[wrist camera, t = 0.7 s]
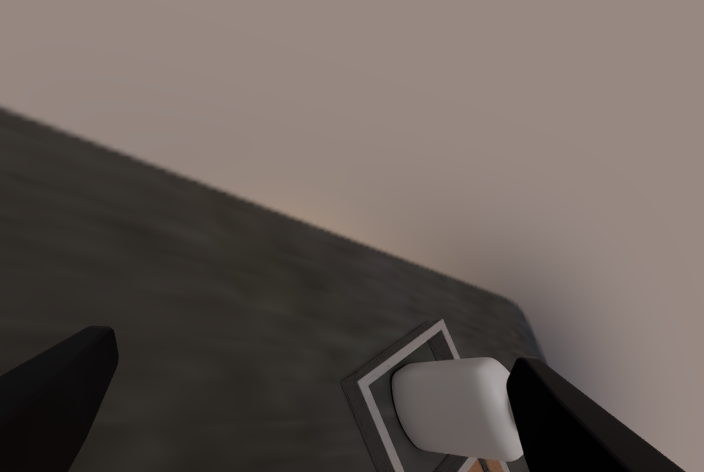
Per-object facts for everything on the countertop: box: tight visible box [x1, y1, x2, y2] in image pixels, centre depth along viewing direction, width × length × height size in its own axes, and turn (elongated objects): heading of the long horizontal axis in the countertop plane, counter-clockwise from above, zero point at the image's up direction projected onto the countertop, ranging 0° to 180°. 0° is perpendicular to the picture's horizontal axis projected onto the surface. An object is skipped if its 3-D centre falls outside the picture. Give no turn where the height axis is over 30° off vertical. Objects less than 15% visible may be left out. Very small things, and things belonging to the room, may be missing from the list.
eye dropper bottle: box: [392, 357, 524, 461], centre depth 23 cm, size 4×6×12 cm
